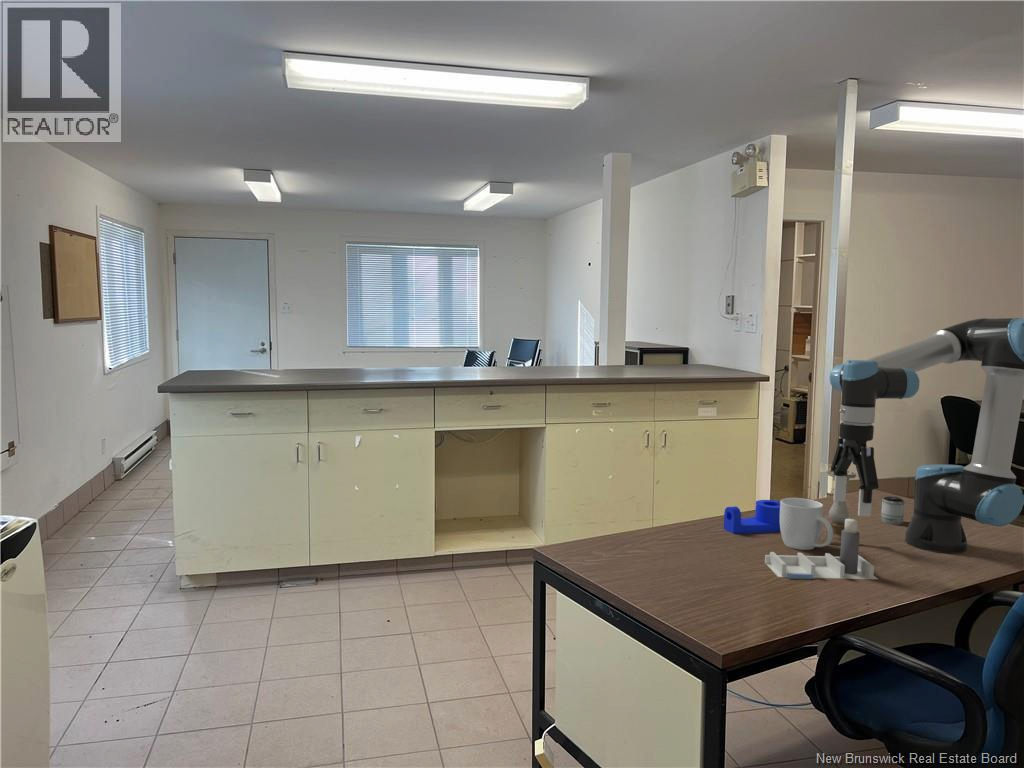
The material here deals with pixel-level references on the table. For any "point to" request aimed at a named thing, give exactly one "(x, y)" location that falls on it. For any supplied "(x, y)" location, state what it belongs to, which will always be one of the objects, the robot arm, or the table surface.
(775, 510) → the bracket
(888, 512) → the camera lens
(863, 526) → the table surface
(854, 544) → the two-tone capped cylinder
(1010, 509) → the robot arm
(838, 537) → the candle holder
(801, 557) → the white compartment tray
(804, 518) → the mug
